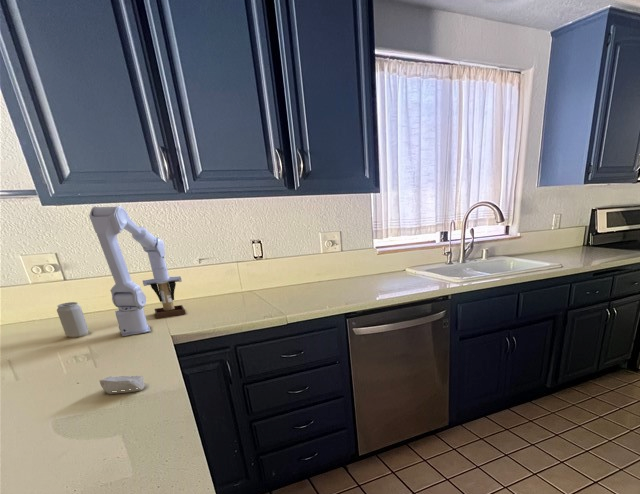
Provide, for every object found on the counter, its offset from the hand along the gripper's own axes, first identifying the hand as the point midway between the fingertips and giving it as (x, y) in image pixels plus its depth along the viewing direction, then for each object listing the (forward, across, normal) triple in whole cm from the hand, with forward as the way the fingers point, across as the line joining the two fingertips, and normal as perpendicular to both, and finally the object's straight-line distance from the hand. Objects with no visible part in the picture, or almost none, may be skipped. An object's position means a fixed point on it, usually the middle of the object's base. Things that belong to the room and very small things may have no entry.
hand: (167, 300), depth 182 cm
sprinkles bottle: (+4, 0, 0) cm, 4 cm away
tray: (+6, 0, 0) cm, 6 cm away
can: (+6, +33, +12) cm, 36 cm away
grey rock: (+6, +18, +77) cm, 79 cm away
